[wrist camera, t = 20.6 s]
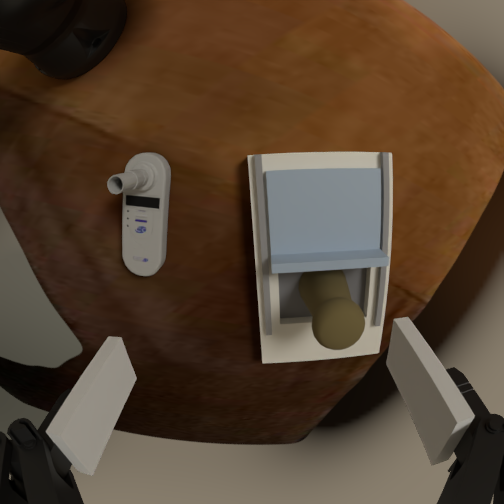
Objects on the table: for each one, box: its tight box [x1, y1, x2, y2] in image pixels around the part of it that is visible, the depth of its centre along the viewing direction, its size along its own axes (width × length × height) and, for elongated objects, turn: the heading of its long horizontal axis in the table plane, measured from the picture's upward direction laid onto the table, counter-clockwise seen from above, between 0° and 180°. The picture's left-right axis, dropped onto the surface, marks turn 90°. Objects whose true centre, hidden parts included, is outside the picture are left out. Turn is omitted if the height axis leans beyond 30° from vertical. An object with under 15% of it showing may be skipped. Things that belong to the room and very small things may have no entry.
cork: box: [298, 269, 365, 350], centre depth 31 cm, size 6×6×11 cm
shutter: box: [266, 168, 389, 274], centre depth 31 cm, size 10×12×4 cm
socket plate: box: [248, 152, 393, 363], centre depth 35 cm, size 26×16×3 cm, turn 4°
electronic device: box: [107, 153, 171, 276], centre depth 32 cm, size 5×10×15 cm
